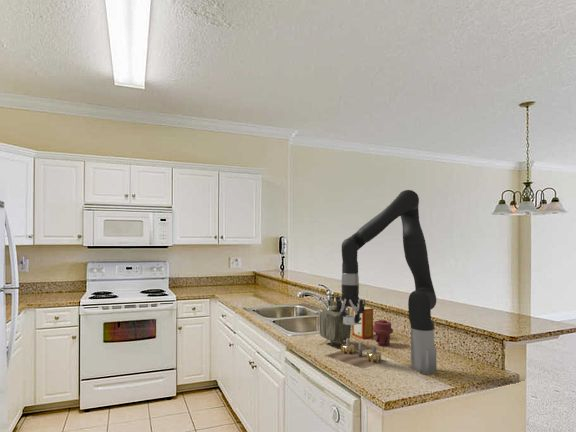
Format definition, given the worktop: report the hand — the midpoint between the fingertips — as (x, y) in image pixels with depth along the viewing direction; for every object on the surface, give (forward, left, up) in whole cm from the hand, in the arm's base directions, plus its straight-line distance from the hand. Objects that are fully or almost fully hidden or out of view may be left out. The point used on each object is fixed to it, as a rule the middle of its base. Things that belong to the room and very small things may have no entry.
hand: (350, 321), depth 172 cm
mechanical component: (+7, -33, -18) cm, 38 cm away
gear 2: (-7, -7, -17) cm, 19 cm away
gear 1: (+8, -7, -17) cm, 20 cm away
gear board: (0, -3, -18) cm, 18 cm away
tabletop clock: (+20, -11, -18) cm, 29 cm away
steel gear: (0, 0, -1) cm, 1 cm away
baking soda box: (+24, -38, -18) cm, 49 cm away
